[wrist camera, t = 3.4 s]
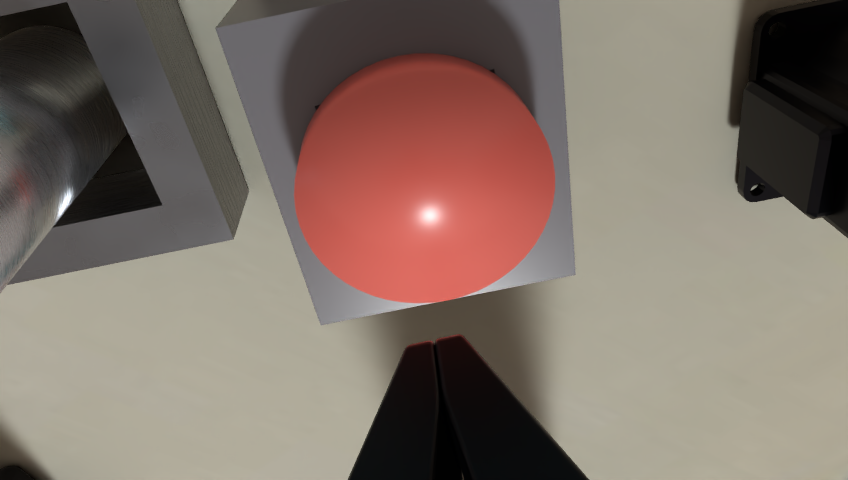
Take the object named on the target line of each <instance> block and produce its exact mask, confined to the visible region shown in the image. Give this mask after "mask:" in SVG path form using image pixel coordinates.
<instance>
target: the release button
mask: <svg viewBox="0 0 848 480" xmlns="http://www.w3.org/2000/svg"><path fill="white" fill-rule="evenodd" d="M554 193H555V170H554V163H553V158H552V155H551V151H550V148H549V145H548V143H547V140H546V138H545V136H544V134H543V132H542V130H541V128H540V127H539V125H538V124H537V122H536V121H535V119H534V117H533V116H532V114H531V113H530V111H529V110H528V108H527V107H526V105H525V104H524V102H523V101H522V99H521V98H520V96H519V95H518V94H517V93H516V92H515V91H514V90H513V89H512V88H511V87H510V86H509V85H508V84H507V83H506V82H505V81H503V80H502V79H501V78H500V77H498V76H497V75H496V74H494V73H492V72H491V71H489V70H487V69H486V68H484V67H482V66H480V65H478V64H475V63H473V62H470V61H468V60H465V59H461V58H458V57H454V56H450V55H442V54H434V53H415V54H408V55H401V56H396V57H392V58H388V59H385V60H381V61H379V62H376V63H374V64H372V65H369V66H367V67H364V68H363V69H361V70H359V71H358V72H356V73H354V74H353V75H351V76H349V77H348V78H347V79H346V80H344V81H343V82H342V83H340V84H339V85H338V86H337V87H336V88H335V89H334V90H333V91H332V92H331V93H330V94H329V95H328V96H327V97H326V98H325V99H324V100H323V102H322V103H321V105H320V106H319V107H318V109H317V110H316V111H315V113H314V115H313V117H312V119H311V121H310V123H309V124H308V126H307V129H306V132H305V135H304V138H303V141H302V145H301V150H300V155H299V161H298V166H297V171H296V176H295V185H294V200H295V210H296V214H297V218H298V222H299V226H300V228H301V230H302V233H303V235H304V238H305V240H306V241H307V243H308V245H309V246H310V248H311V250H312V251H313V253H314V254H315V255H316V256H317V258H318V259H319V260H320V261H321V263H322V264H323V265H324V266H325V267H326V268H328V269H329V270H330V271H331V272H332V273H333V274H334V275H335V276H337V277H338V278H340V279H341V280H342V281H344V282H345V283H347V284H349V285H350V286H352V287H354V288H356V289H358V290H360V291H362V292H365V293H367V294H369V295H372V296H375V297H379V298H382V299H386V300H391V301H397V302H404V303H434V302H440V301H447V300H451V299H455V298H459V297H463V296H466V295H468V294H471V293H474V292H477V291H479V290H481V289H483V288H485V287H487V286H489V285H491V284H492V283H494V282H495V281H497V280H499V279H500V278H502V277H503V276H505V275H506V274H507V273H508V272H510V271H511V270H512V269H513V268H515V267H516V266H517V265H518V264H519V263H520V262H521V261H522V260H523V259H524V258H525V257H526V255H527V254H528V253H529V252H530V250H531V249H532V248H533V247H534V245H535V244H536V242H537V241H538V239H539V237H540V236H541V234H542V232H543V230H544V228H545V226H546V223H547V221H548V219H549V216H550V212H551V209H552V205H553V200H554Z"/></svg>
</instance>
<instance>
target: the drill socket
mask: <svg viewBox="0 0 848 480" xmlns="http://www.w3.org/2000/svg"><path fill="white" fill-rule="evenodd" d="M64 2H67V3H68V5H69V7H70V9H71V12H72V14H73V16H74V18H75V20H76V22H77V24H78V26H79V29H80V31H81V33H82V35H83V37H84V39H85V41H86V43H87V46H88V48H89V50H90V52H91V54H92V56H93V58H94V60H95V63H96V65H97V67H98V69H99V71H100V73H101V75H102V77H103V80H104V82H105V84H106V86H107V88H108V90H109V92H110V94H111V97H112V99H113V101H114V103H115V105H116V107H117V109H118V111H119V114H120V116H121V118H122V120H123V122H124V124H125V126H126V128H127V131H128V133H129V135H130V137H131V139H132V141H133V143H134V145H135V148H136V150H137V152H138V154H139V156H140V158H141V160H142V162H143V165H144V167H145V169H140V170H135V171H130V172H125V173H120V174H115V175H111V176H106V177H101V178H96V179H91V180H90V181H89V182H88V183H87V185H86V186H85V187H84V188H83V190H82V191H81V192H80V193H79V195H78V196H77V197H76V198H75V200H74V201H73V202H72V204H71V205H70V206H69V207H68V209H67V210H66V211H65V212H64V214H63V215H62V216H61V217H60V219H59V220H58V221H57V222H56V224H55V225H54V226H53V227H52V229H51V230H50V231H49V232H48V234H47V235H46V236H45V238H44V239H43V240H42V241H41V243H40V244H39V245H38V246H37V248H36V249H35V250H34V251H33V253H32V254H31V255H30V256H29V258H28V259H27V260H26V261H25V263H24V264H23V265H22V267H21V268H20V269H19V270H18V272H17V273H16V274H15V275H14V277H13V278H12V279H11V280H10V282H9V283H8V284H7V285H9V284H14V283H19V282H24V281H29V280H34V279H39V278H44V277H49V276H54V275H59V274H64V273H69V272H74V271H79V270H84V269H89V268H94V267H99V266H104V265H109V264H113V263H118V262H123V261H128V260H133V259H138V258H143V257H148V256H153V255H158V254H163V253H168V252H173V251H178V250H183V249H188V248H193V247H198V246H203V245H208V244H213V243H218V242H223V241H227V240H232V239H234V236H235V233H236V230H237V227H238V224H239V221H240V218H241V215H242V211H243V208H244V205H245V202H246V199H247V196H248V193H249V190H248V187H247V185H246V182H245V179H244V177H243V174H242V171H241V169H240V166H239V163H238V161H237V158H236V156H235V153H234V150H233V148H232V145H231V142H230V140H229V137H228V134H227V132H226V129H225V126H224V124H223V121H222V119H221V116H220V113H219V111H218V108H217V105H216V103H215V100H214V97H213V95H212V92H211V90H210V87H209V84H208V82H207V79H206V76H205V74H204V71H203V68H202V66H201V63H200V60H199V58H198V55H197V53H196V50H195V47H194V45H193V42H192V39H191V37H190V34H189V31H188V29H187V26H186V23H185V21H184V18H183V16H182V13H181V10H180V8H179V5H178V2H177V0H0V16H3V15H8V14H13V13H17V12H22V11H27V10H31V9H36V8H41V7H46V6H50V5H55V4H60V3H64Z"/></svg>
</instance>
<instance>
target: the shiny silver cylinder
mask: <svg viewBox="0 0 848 480" xmlns="http://www.w3.org/2000/svg"><path fill="white" fill-rule="evenodd" d="M127 132H128V131H127V128H126V126H125V124H124V122H123V120H122V118H121V116H120V114H119V111H118V109H117V107H116V105H115V103H114V101H113V99H112V97H111V94H110V92H109V90H108V88H107V86H106V84H105V82H104V80H103V77H102V75H101V73H100V71H99V69H98V67H97V65H96V63H95V60H94V58H93V56H92V54H91V52H90V50H89V48H88V46H87V43H86V41H85V39H84V37H83V36H82V35H80V34H78V33H75V32H73V31H70V30H67V29H63V28H59V27H53V26H31V27H25V28H22V29H19V30H16V31H14V32H12V33H10V34H8V35H6V36H5V37H3V38H1V39H0V293H1V292H2V290H3V289H4V288H5V287H6V285H7V284H8V283H9V282H10V280H11V279H12V278H13V277H14V275H15V274H16V273H17V272H18V270H19V269H20V268H21V267H22V265H23V264H24V263H25V261H26V260H27V259H28V258H29V256H30V255H31V254H32V253H33V251H34V250H35V249H36V248H37V246H38V245H39V244H40V243H41V241H42V240H43V239H44V238H45V236H46V235H47V234H48V232H49V231H50V230H51V229H52V227H53V226H54V225H55V224H56V222H57V221H58V220H59V219H60V217H61V216H62V215H63V214H64V212H65V211H66V210H67V209H68V207H69V206H70V205H71V204H72V202H73V201H74V200H75V198H76V197H77V196H78V195H79V193H80V192H81V191H82V190H83V188H84V187H85V186H86V185H87V183H88V182H89V181H90V180H91V178H92V177H93V176H94V175H95V173H96V172H97V171H98V170H99V168H100V167H101V166H102V164H103V163H104V162H105V161H106V159H107V158H108V157H109V156H110V154H111V153H112V152H113V151H114V149H115V148H116V147H117V146H118V144H119V143H120V142H121V141H122V139H123V138H124V137H125V135H126V134H127Z"/></svg>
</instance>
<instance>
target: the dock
mask: <svg viewBox="0 0 848 480" xmlns="http://www.w3.org/2000/svg"><path fill="white" fill-rule="evenodd" d="M216 31H217V34H218V37H219V39H220V42H221V45H222V48H223V51H224V53H225V56H226V59H227V62H228V65H229V68H230V70H231V73H232V76H233V79H234V82H235V84H236V87H237V90H238V93H239V96H240V99H241V101H242V104H243V107H244V110H245V113H246V116H247V118H248V121H249V124H250V127H251V130H252V132H253V135H254V138H255V141H256V144H257V147H258V149H259V152H260V155H261V158H262V161H263V163H264V166H265V169H266V172H267V175H268V178H269V180H270V183H271V186H272V189H273V192H274V195H275V197H276V200H277V203H278V206H279V209H280V211H281V214H282V217H283V220H284V223H285V226H286V228H287V231H288V234H289V237H290V240H291V242H292V245H293V248H294V251H295V254H296V257H297V259H298V262H299V265H300V268H301V271H302V274H303V276H304V279H305V282H306V285H307V288H308V290H309V293H310V296H311V299H312V302H313V305H314V307H315V310H316V313H317V316H318V319H319V321H320V324H321V325H324V324H329V323H334V322H339V321H344V320H349V319H355V318H360V317H365V316H370V315H375V314H380V313H385V312H390V311H395V310H400V309H405V308H410V307H415V306H420V305H425V304H430V303H404V302H397V301H391V300H386V299H382V298H379V297H375V296H372V295H369V294H367V293H365V292H362V291H360V290H358V289H356V288H354V287H352V286H350V285H349V284H347V283H345V282H344V281H342V280H341V279H340V278H338V277H337V276H335V275H334V274H333V273H332V272H331V271H330V270H329V269H328V268H326V267H325V266H324V265H323V264H322V263H321V261H320V260H319V259H318V258H317V256H316V255H315V254H314V253H313V251H312V250H311V248H310V246H309V245H308V243H307V241H306V240H305V238H304V235H303V233H302V230H301V228H300V226H299V222H298V218H297V214H296V210H295V200H294V185H295V176H296V171H297V166H298V161H299V155H300V150H301V145H302V141H303V138H304V135H305V132H306V129H307V126H308V124H309V123H310V121H311V119H312V117H313V115H314V113H315V111H316V110H317V109H318V107H319V106H320V105H321V103H322V102H323V100H324V99H325V98H326V97H327V96H328V95H329V94H330V93H331V92H332V91H333V90H334V89H335V88H336V87H337V86H338V85H339V84H340V83H342V82H343V81H344V80H346V79H347V78H348V77H349V76H351V75H353V74H354V73H356V72H358V71H359V70H361V69H363V68H364V67H367V66H369V65H372V64H374V63H376V62H379V61H381V60H385V59H388V58H392V57H396V56H401V55H408V54H415V53H434V54H442V55H450V56H454V57H458V58H461V59H465V60H468V61H470V62H473V63H475V64H478V65H480V66H482V67H484V68H486V69H487V70H489V71H491V72H492V73H494V74H496V75H497V76H498V77H500V78H501V79H502V80H503V81H505V82H506V83H507V84H508V85H509V86H510V87H511V88H512V89H513V90H514V91H515V92H516V93H517V94H518V95H519V96H520V98H521V99H522V101H523V102H524V104H525V105H526V107H527V108H528V110H529V111H530V113H531V114H532V116H533V117H534V119H535V121H536V122H537V124H538V125H539V127H540V128H541V130H542V132H543V134H544V136H545V138H546V140H547V143H548V145H549V148H550V151H551V155H552V158H553V163H554V170H555V193H554V200H553V205H552V209H551V212H550V216H549V219H548V221H547V223H546V226H545V228H544V230H543V232H542V234H541V236H540V237H539V239H538V241H537V242H536V244H535V245H534V247H533V248H532V249H531V250H530V252H529V253H528V254H527V255H526V257H525V258H524V259H523V260H522V261H521V262H520V263H519V264H518V265H517V266H516V267H515V268H513V269H512V270H511V271H510V272H508V273H507V274H506V275H505V276H503V277H502V278H500V279H499V280H497V281H495V282H494V283H492V284H491V285H489V286H487V287H485V288H483V289H481V290H479V291H477V292H474V293H471V294H468V295H466V296H471V295H476V294H481V293H486V292H491V291H496V290H501V289H506V288H511V287H516V286H521V285H526V284H532V283H537V282H542V281H547V280H552V279H557V278H562V277H567V276H572V275H576V274H575V257H574V241H573V224H572V208H571V191H570V175H569V158H568V141H567V125H566V108H565V92H564V75H563V58H562V42H561V25H560V9H559V0H237V2H236V3H235V4H234V5H233V7H232V8H231V9H230V10H229V12H228V13H227V14H226V15H225V17H224V18H223V19H222V21H221V22H220V23H219V24H218V26H217V27H216ZM466 296H463V297H466ZM459 298H461V297H459ZM455 299H456V298H455ZM440 302H441V301H440ZM434 303H435V302H434Z"/></svg>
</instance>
